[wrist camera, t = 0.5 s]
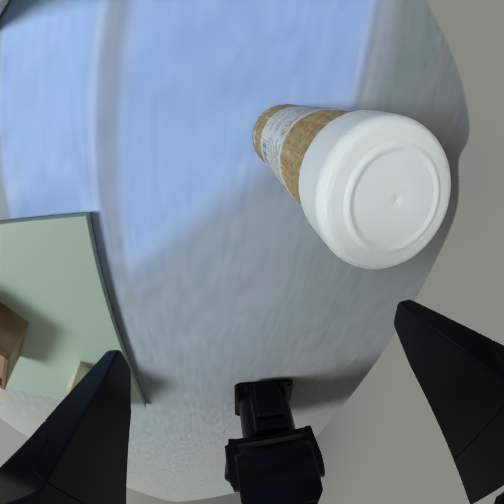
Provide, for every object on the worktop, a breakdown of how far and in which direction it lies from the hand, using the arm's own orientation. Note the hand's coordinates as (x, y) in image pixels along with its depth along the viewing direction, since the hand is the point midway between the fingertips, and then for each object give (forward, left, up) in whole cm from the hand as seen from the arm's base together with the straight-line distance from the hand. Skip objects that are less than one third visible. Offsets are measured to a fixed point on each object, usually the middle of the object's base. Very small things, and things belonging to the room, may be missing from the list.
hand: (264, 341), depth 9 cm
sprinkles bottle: (+4, -3, -14) cm, 15 cm away
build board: (-13, +22, -14) cm, 29 cm away
